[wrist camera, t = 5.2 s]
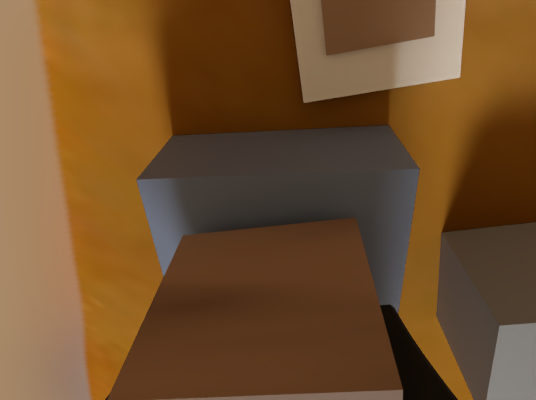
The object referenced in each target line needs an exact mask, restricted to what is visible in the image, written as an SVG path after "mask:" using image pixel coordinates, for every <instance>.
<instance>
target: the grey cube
mask: <svg viewBox="0 0 536 400" xmlns="http://www.w3.org/2000/svg"><path fill="white" fill-rule="evenodd" d="M437 318H438V321H439V323H440V325H441V327H442V330H443V332H444V334H445V336H446V339H447V341H448V343H449V345H450V347H451V350H452V352H453V354H454V356H455V359H456V361H457V363H458V365H459V368H460V370H461V372H462V374H463V377H464V379H465V381H466V383H467V386H468V388H469V390H470V392H471V394H472V397H473V399H474V400H536V222H532V223H523V224H514V225H505V226H496V227H487V228H478V229H469V230H460V231H451V232H442V233H441V250H440V267H439V284H438V300H437Z"/></svg>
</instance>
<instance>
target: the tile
mask: <svg viewBox="0 0 536 400" xmlns="http://www.w3.org/2000/svg"><path fill="white" fill-rule="evenodd" d="M290 4H291V11H292V19H293V26H294V34H295V42H296V49H297V57H298V64H299V72H300V79H301V87H302V95H303V102H304V103H307V102H313V101H319V100H325V99H332V98H338V97H344V96H350V95H356V94H362V93H368V92H375V91H381V90H387V89H393V88H399V87H405V86H411V85H417V84H424V83H430V82H436V81H442V80H448V79H454V78H460V70H461V57H462V44H463V31H464V18H465V4H466V0H290Z"/></svg>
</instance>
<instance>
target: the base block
mask: <svg viewBox="0 0 536 400" xmlns="http://www.w3.org/2000/svg"><path fill="white" fill-rule="evenodd" d="M419 170H420V168H419V167H418V166H417V164H416V163H415V161H414V160H413V159H412V157H411V156H410V154H409V153H408V152H407V150H406V149H405V147H404V146H403V145H402V143H401V142H400V140H399V139H398V138H397V136H396V135H395V133H394V132H393V131H392V129H391V128H390V126H389V125H377V126H357V127H337V128H317V129H297V130H277V131H257V132H236V133H216V134H196V135H176V136H172V137H171V139H170V140H169V141H168V142H167V143H166V145H165V146H164V147H163V148H162V149H161V151H160V152H159V153H158V154H157V155H156V157H155V158H154V159H153V160H152V161H151V163H150V164H149V165H148V166H147V167H146V169H145V170H144V171H143V172H142V173H141V175H140V176H139V177H138V178H137V184H138V187H139V191H140V194H141V198H142V201H143V205H144V209H145V212H146V216H147V219H148V223H149V226H150V230H151V234H152V237H153V241H154V244H155V248H156V251H157V255H158V259H159V262H160V266H161V269H162V273H163V276H164V275H165V273H166V271H167V269H168V266H169V264H170V262H171V260H172V258H173V256H174V253H175V251H176V249H177V247H178V245H179V243H180V240H181V238H182V236H183V235H191V234H201V233H210V232H220V231H230V230H239V229H249V228H259V227H268V226H278V225H288V224H297V223H307V222H317V221H326V220H336V219H346V218H355V217H356V220H357V223H358V227H359V230H360V234H361V238H362V241H363V245H364V249H365V252H366V256H367V260H368V263H369V267H370V271H371V274H372V278H373V282H374V285H375V289H376V293H377V296H378V300H379V304H380V305H389V304H390V305H392V306H393V307H394V308H395V309H396V311H397V313H398V311H399V304H400V297H401V291H402V284H403V277H404V271H405V264H406V257H407V250H408V244H409V237H410V230H411V224H412V217H413V210H414V203H415V197H416V190H417V183H418V176H419Z"/></svg>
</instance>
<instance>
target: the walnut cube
mask: <svg viewBox="0 0 536 400" xmlns="http://www.w3.org/2000/svg"><path fill="white" fill-rule="evenodd" d="M107 400H403V388H402V384H401V381H400V377H399V373H398V370H397V366H396V362H395V359H394V355H393V351H392V348H391V344H390V340H389V337H388V333H387V329H386V326H385V322H384V318H383V315H382V311H381V307H380V304H379V300H378V296H377V293H376V289H375V285H374V282H373V278H372V274H371V271H370V267H369V263H368V260H367V256H366V252H365V249H364V245H363V241H362V238H361V234H360V230H359V227H358V223H357V220H356V217H355V218H346V219H336V220H326V221H317V222H307V223H297V224H288V225H278V226H268V227H259V228H249V229H239V230H230V231H220V232H210V233H201V234H191V235H183V236H182V238H181V240H180V243H179V245H178V247H177V249H176V251H175V253H174V256H173V258H172V260H171V262H170V264H169V266H168V269H167V271H166V273H165V275H164V277H163V279H162V282H161V284H160V286H159V288H158V290H157V293H156V295H155V297H154V299H153V301H152V303H151V306H150V308H149V310H148V312H147V314H146V316H145V319H144V321H143V323H142V325H141V327H140V329H139V332H138V334H137V336H136V338H135V340H134V343H133V345H132V347H131V349H130V351H129V353H128V356H127V358H126V360H125V362H124V364H123V366H122V369H121V371H120V373H119V375H118V377H117V379H116V382H115V384H114V386H113V388H112V390H111V393H110V395H109V397H108V399H107Z"/></svg>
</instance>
